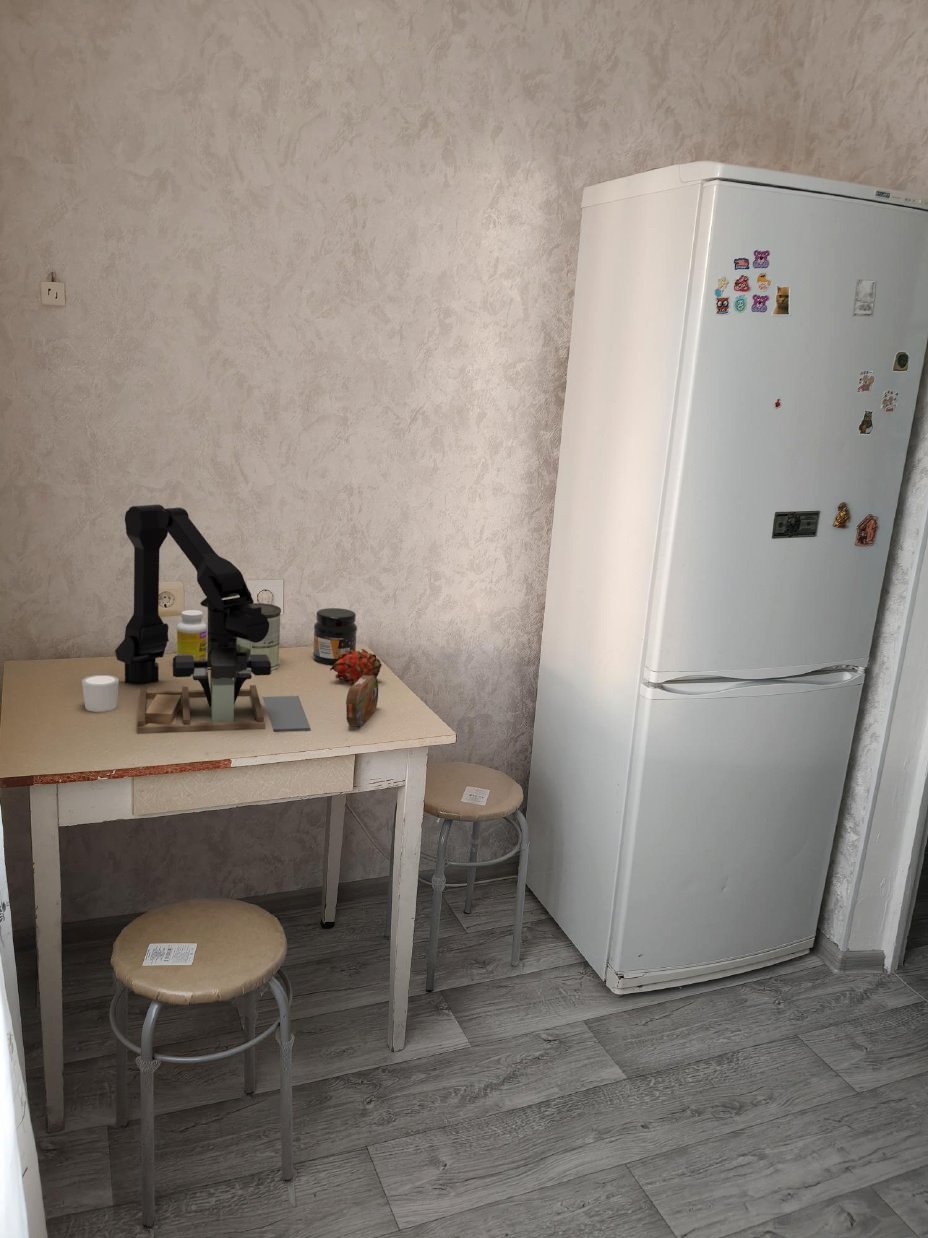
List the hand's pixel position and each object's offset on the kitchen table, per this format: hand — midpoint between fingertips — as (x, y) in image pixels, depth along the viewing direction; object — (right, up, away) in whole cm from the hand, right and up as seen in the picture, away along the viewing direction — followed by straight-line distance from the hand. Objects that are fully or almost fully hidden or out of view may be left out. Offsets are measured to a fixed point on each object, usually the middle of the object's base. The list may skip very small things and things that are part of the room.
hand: (221, 706), depth 190 cm
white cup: (-24, -1, -1) cm, 24 cm away
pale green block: (0, -2, +1) cm, 3 cm away
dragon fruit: (+24, +3, +28) cm, 37 cm away
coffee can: (0, +6, +35) cm, 36 cm away
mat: (+11, -2, +5) cm, 13 cm away
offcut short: (-11, -1, -3) cm, 11 cm away
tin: (+27, -3, +6) cm, 28 cm away
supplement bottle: (-15, +6, +32) cm, 35 cm away
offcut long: (-11, -3, -2) cm, 11 cm away
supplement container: (+17, +7, +44) cm, 48 cm away
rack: (-4, -2, 0) cm, 5 cm away
